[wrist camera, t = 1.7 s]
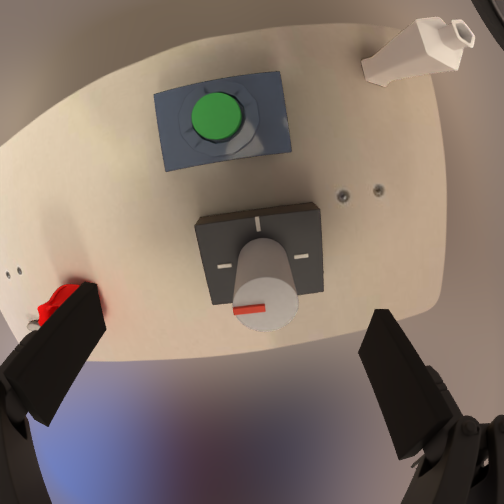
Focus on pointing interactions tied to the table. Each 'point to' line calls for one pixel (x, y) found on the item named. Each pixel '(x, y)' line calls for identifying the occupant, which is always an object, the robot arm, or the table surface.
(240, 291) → the dial
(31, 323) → the oval pebble
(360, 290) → the table surface
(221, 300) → the dial panel
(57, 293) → the flower
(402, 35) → the perfume bottle
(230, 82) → the button block
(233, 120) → the button
